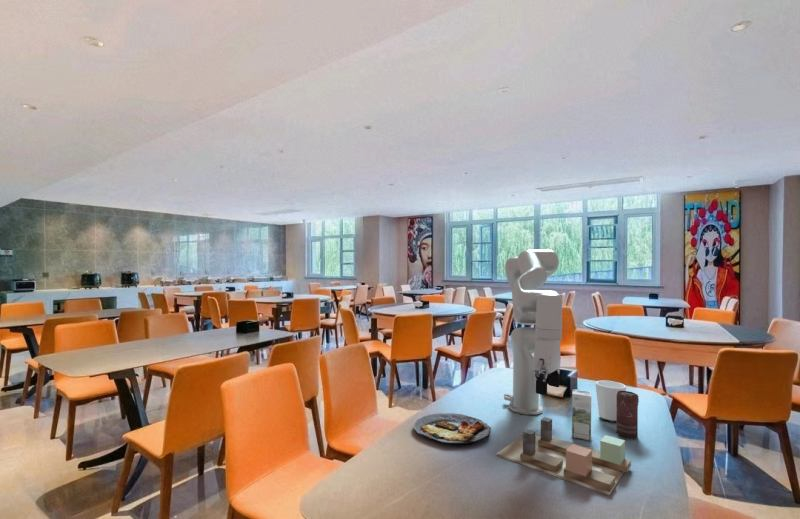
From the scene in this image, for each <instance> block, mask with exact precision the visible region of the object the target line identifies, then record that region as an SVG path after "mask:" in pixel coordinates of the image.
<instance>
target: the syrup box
mask: <svg viewBox="0 0 800 519" xmlns="http://www.w3.org/2000/svg"><path fill="white" fill-rule="evenodd" d="M571 396H572V397H571V403H572V404H571V437H572V439H573V438H574V439H577V440H578V439H579V440H584V441H592V391H590V390H582V389H574V388H573V389H572V394H571Z"/></svg>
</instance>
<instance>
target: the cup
mask: <svg viewBox="0 0 800 519" xmlns="http://www.w3.org/2000/svg"><path fill="white" fill-rule="evenodd" d="M595 388H596V389H595V390H596V391H595V392H596V400H597V401H596V402H597V411H598V412H597V413H598V416H599V418H600V420H602V421H608V422H609V423H611V422H612V423H615V422H616V411H617V393H618V391H627V386H626V385H625V384H624V383H621V382H618V381H614V380H613V381H612V380H605V379H604V380H602V379H601V380H597V381H596V382H595Z"/></svg>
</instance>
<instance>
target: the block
mask: <svg viewBox="0 0 800 519" xmlns="http://www.w3.org/2000/svg"><path fill="white" fill-rule="evenodd" d="M574 444H575V443H573V444H572V445H571V446H570V447H569V448H568V449H567V450H566V470H568V471H571V472H574V473H577V474H580V475H583V476H587V475H588V473H589V472H590V471H591V470H592V450H591V449H592V448H591V449H587V448H588V447H587V448H584V447H585V446H584V447H580V446H581V445H580V446H577V445H578V444H577V445H574Z"/></svg>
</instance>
